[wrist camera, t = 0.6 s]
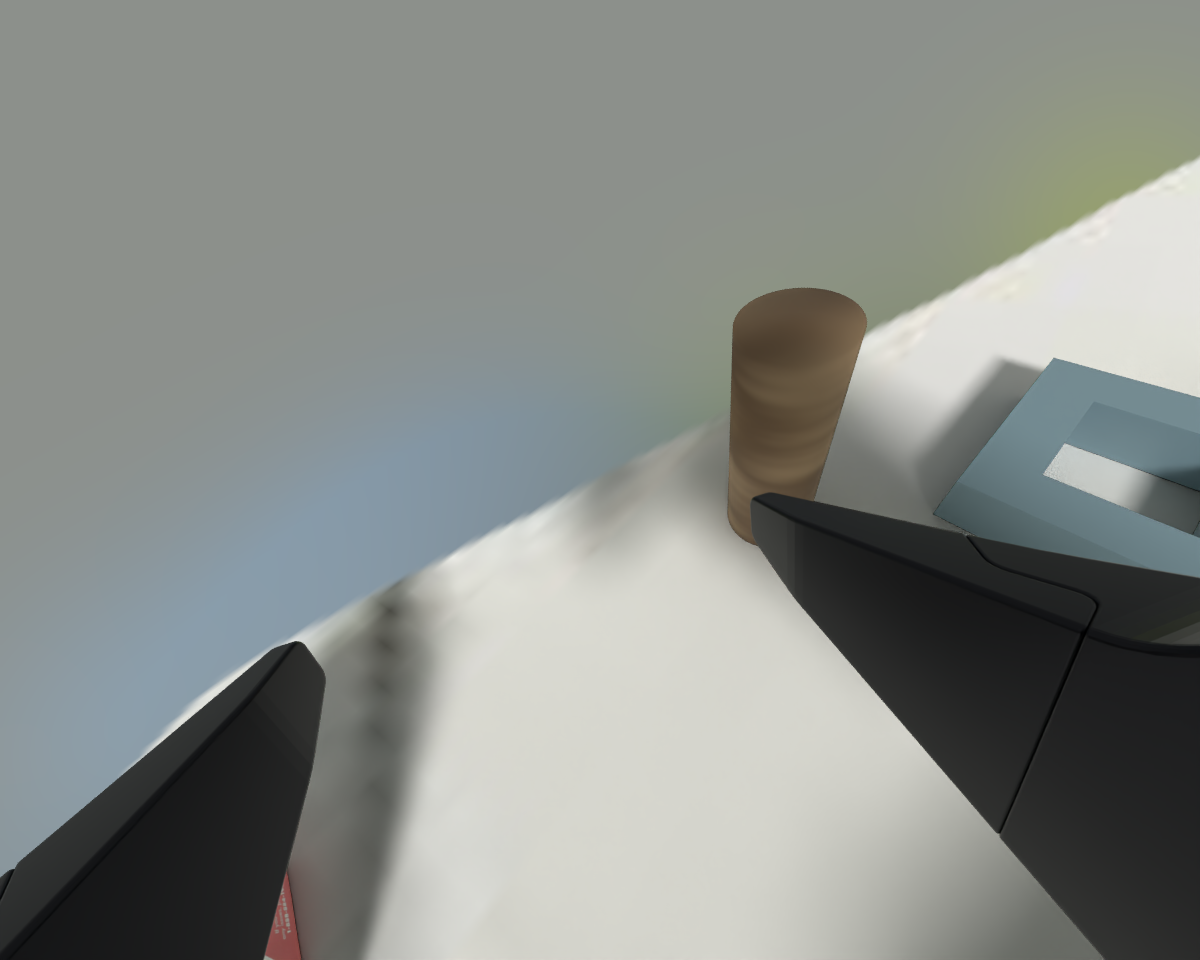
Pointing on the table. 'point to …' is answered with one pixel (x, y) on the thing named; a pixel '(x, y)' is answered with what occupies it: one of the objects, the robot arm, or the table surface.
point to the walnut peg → (787, 393)
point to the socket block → (1066, 514)
